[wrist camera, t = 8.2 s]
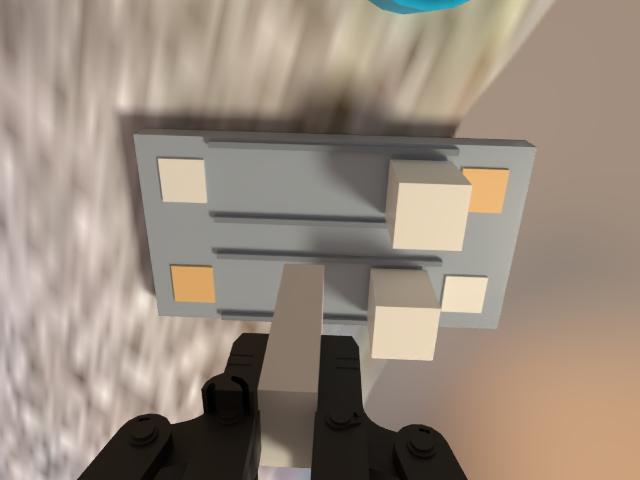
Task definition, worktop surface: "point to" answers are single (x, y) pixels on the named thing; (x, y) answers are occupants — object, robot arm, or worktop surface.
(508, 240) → the switch bank
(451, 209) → the tab
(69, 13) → the worktop surface
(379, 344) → the tab
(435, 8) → the mug
